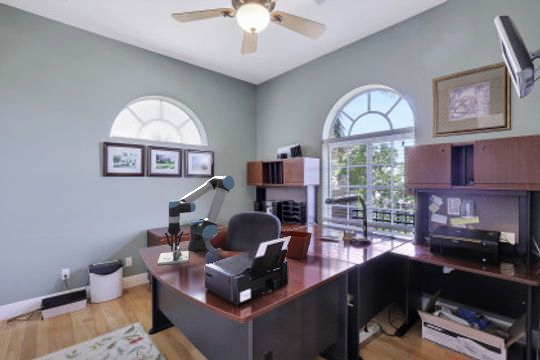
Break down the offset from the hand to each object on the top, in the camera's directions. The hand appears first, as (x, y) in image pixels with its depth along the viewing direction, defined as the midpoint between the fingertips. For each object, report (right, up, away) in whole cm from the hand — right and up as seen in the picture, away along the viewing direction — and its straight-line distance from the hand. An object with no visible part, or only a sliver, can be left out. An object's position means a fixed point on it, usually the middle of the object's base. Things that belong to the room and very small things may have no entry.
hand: (173, 255), depth 181 cm
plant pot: (+89, -4, +11) cm, 89 cm away
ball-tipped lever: (+1, -2, +2) cm, 3 cm away
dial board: (-1, -4, +4) cm, 5 cm away
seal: (+30, -4, -6) cm, 31 cm away
